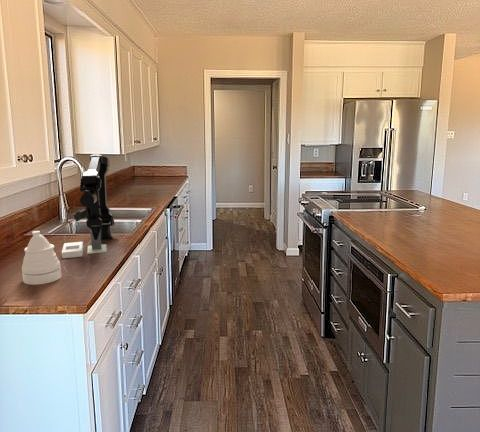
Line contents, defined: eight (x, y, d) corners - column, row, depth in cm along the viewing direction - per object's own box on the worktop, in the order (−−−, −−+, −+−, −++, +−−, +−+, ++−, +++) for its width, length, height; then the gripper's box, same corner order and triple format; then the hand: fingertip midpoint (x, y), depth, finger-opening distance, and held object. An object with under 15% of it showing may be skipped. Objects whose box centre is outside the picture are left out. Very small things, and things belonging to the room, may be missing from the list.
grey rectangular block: (92, 247, 198) (90, 230, 197) (101, 246, 200) (100, 229, 198) (92, 249, 195) (90, 232, 193) (101, 248, 196) (100, 231, 194)
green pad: (87, 246, 202) (87, 245, 202) (106, 245, 204) (106, 244, 204) (87, 253, 190) (87, 252, 190) (106, 251, 193) (106, 250, 193)
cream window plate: (64, 248, 200) (64, 243, 199) (83, 246, 202) (82, 241, 201) (62, 258, 185) (61, 252, 184) (82, 256, 187) (81, 250, 187)
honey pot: (59, 282, 157) (54, 232, 153) (20, 286, 153) (13, 236, 149) (63, 270, 169) (58, 225, 165) (26, 274, 165) (20, 228, 161)
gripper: (74, 201, 199) (77, 234, 202) (72, 208, 182) (75, 244, 185) (99, 199, 203) (102, 232, 206) (100, 206, 185) (103, 241, 188)
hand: (95, 237), depth 196 cm, fingers open, 9 cm apart
